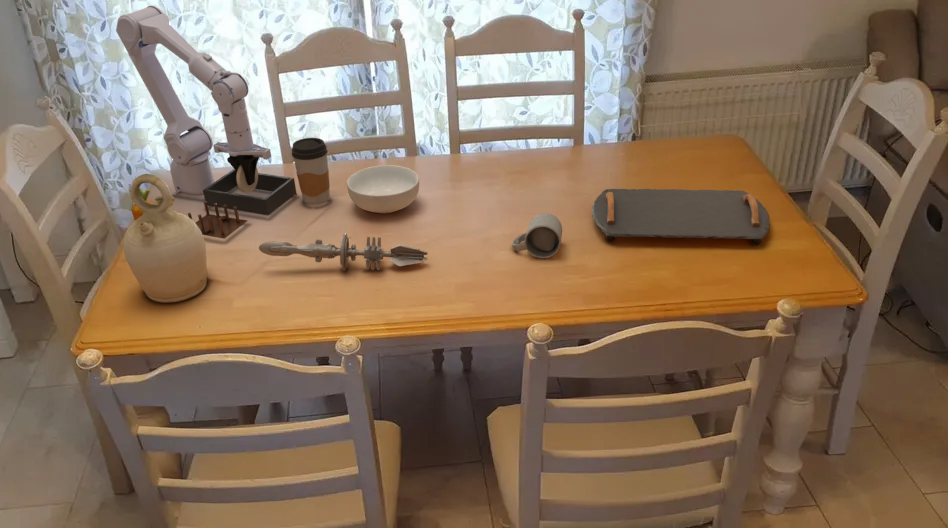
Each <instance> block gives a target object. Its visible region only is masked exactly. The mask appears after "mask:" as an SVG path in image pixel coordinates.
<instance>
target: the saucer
mask: <svg viewBox="0 0 948 528" xmlns="http://www.w3.org/2000/svg"><path fill="white" fill-rule="evenodd" d="M258 173H259V171H258V167H257V166H256V171H255V182H254V183H253V184H252V185H248V184H247V182H246V178H245V173H244V171H243V168H242V166H241V165H240V166H239V168H238V171H237V177H236V180H237V185H238V186H237V188H238V190H239V191H240V192H241V193H244V194H250V193H252V192H253V191H254V190H255V187H256V185H257V182H258Z"/></svg>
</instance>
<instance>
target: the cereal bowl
mask: <svg viewBox="0 0 948 528" xmlns="http://www.w3.org/2000/svg"><path fill="white" fill-rule="evenodd" d="M346 188H347V192H348V195H349V197H350V199H351V201H352V203H354V204H355V205H356V206H357V207H358V208H360V209H362V210H364V211H367V212H370V213H376V214H382V215H383V214H390V213H391V214H392V213H394V212H398V211H400V210H402V209H404V208H406V207H408V206H410V205H411V204H412V203H413V202H414V201H415V200H416V198H417V197H418V194H419V191H420V177H419V175H418V174H417V172H416V171H414V170H413V169H411V168H408V167H406V166H402V165H395V164H380V165H379V164H378V165H373V166H369V167H368V166H367V167H365V168H361V169H360V170H356V171H355V172H354V173H352V174H351V175H350V176H349V177H348V178H347V180H346Z"/></svg>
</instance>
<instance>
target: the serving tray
mask: <svg viewBox="0 0 948 528" xmlns="http://www.w3.org/2000/svg"><path fill="white" fill-rule="evenodd" d="M591 209H592V210H591V213H592V218H593V221H594V222H595V224H596V225H597V227H598V228H599V229H600V230H601V232H603V234H604V235H605V239H606V241H607V242H608V243H614V241H615V240H616V238H617V237H627V238H628V237H629V238H630V237H631V238H632V237H633V238H670V239H671V238H679V239H680V238H681V239H729V240H730V239H732V240H733V239H734V240H735V239H737V240H750V242H751V245H753V246H759V245H760V243H761V242H762V240H763V239H764V238H766V236H767V235H768V233H769V230H770V227H771V223H770V215H769V213H768V211H767V209H766V207H765V206H763V204H762V202H760V200H758V199H757V198H756V197H755V195H754V193H749V192H747V191H744V190H729V189H724V190H723V189H720V190H718V189H680V188H679V189H677V188H674V189H673V188H670V189H668V188H667V189H665V188H664V189H663V188H662V189H661V188H660V189H656V188H653V189H651V188H637V189H636V188H630V189H629V188H607V189H604V190H602V192H601V193H600V194H599V195H598V196H597V197H596V199H595V200H594V203H593V205H592V206H591Z"/></svg>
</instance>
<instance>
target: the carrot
mask: <svg viewBox="0 0 948 528" xmlns="http://www.w3.org/2000/svg"><path fill="white" fill-rule="evenodd" d="M128 191H129V192H130V189H128ZM140 194H141V196H142V198H143V199H144V200H145V201H146V202H148V203H150V204H152V205H155V204H154V203H153V202H152V201H151V200H148V196H149V194H150V189H148V188H146V189H145V191H144V192H143V190H142V188H140ZM130 199H131V200H132V198H131V197H130ZM131 213H132V216H133V220H134V221H135V220H137V219H138V218H139V217H140V216H142V215H143V211H142V210H141V209H140V208H138V207H137V206H136V205H135V203H134V204H133V205H132V207H131Z"/></svg>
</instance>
